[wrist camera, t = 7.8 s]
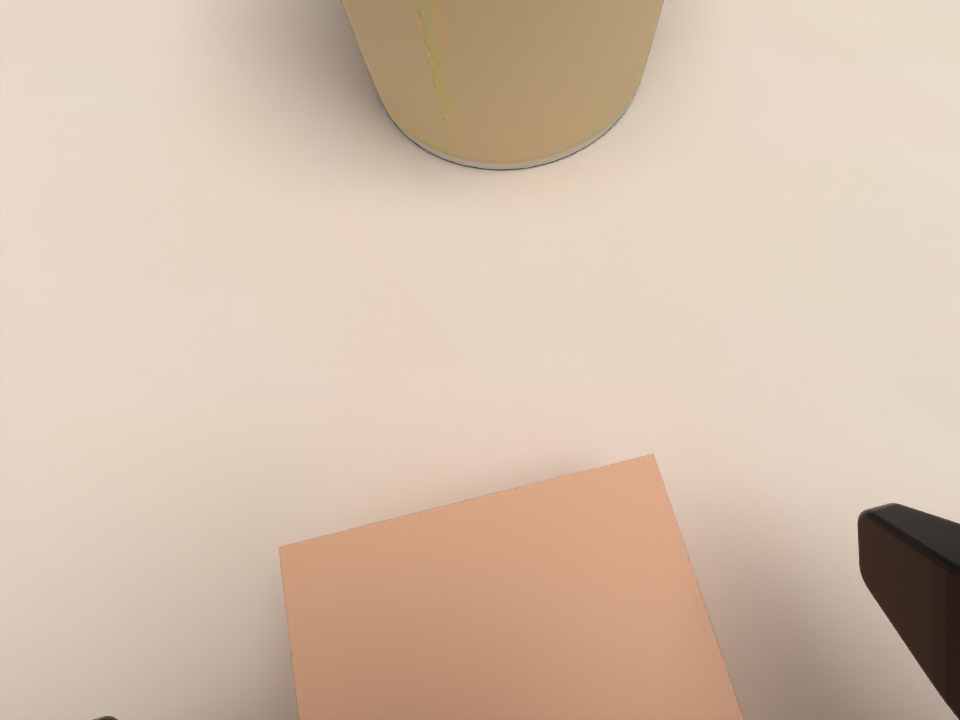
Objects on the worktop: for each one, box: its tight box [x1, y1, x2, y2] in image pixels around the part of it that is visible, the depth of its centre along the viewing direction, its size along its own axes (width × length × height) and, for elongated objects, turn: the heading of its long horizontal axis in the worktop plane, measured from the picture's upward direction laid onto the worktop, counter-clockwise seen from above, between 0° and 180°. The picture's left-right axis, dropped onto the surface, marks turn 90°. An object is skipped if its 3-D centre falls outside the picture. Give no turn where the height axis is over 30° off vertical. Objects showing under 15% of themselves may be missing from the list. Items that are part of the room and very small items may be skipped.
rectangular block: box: [279, 454, 744, 720], centre depth 13 cm, size 5×6×4 cm
